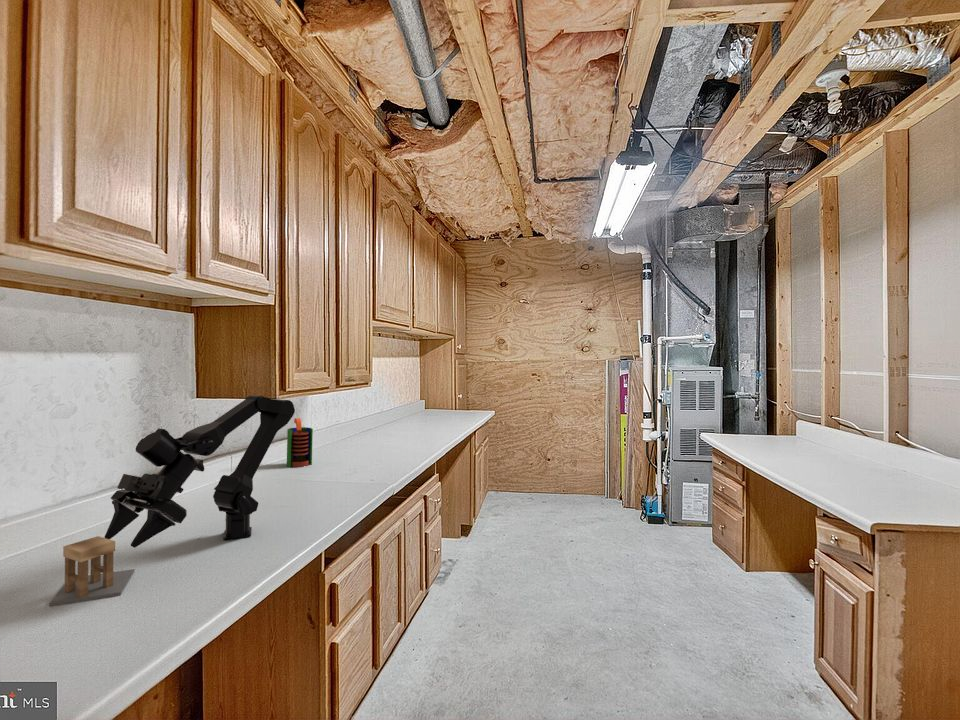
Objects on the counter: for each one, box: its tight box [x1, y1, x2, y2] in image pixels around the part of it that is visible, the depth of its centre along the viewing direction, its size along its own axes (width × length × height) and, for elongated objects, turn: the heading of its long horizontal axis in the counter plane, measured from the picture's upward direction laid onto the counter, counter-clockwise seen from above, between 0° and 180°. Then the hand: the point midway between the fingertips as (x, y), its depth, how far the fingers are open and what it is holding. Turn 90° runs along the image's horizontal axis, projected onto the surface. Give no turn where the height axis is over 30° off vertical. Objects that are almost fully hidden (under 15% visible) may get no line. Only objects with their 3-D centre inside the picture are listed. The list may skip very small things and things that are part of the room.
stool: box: [62, 535, 116, 598], centre depth 95 cm, size 6×6×9 cm
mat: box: [48, 568, 135, 607], centre depth 97 cm, size 11×11×1 cm
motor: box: [286, 417, 314, 468], centre depth 206 cm, size 10×9×20 cm
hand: (119, 542), depth 100 cm, fingers open, 9 cm apart
